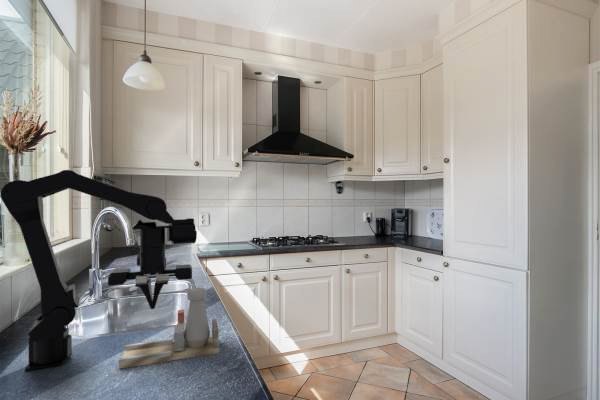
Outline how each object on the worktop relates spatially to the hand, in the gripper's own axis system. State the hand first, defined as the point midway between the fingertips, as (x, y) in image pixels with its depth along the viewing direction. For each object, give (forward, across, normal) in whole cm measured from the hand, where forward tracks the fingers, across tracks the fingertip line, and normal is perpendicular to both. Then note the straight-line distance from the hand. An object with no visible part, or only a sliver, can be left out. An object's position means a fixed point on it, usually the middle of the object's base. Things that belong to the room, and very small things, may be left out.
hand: (152, 308), depth 80 cm
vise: (+8, -5, +10) cm, 13 cm away
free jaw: (+7, -7, +5) cm, 10 cm away
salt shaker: (+7, -10, +10) cm, 16 cm away
